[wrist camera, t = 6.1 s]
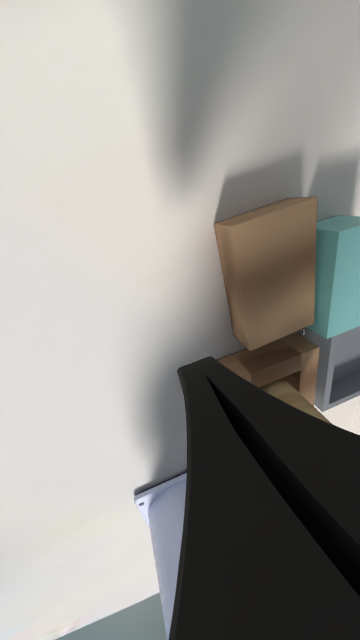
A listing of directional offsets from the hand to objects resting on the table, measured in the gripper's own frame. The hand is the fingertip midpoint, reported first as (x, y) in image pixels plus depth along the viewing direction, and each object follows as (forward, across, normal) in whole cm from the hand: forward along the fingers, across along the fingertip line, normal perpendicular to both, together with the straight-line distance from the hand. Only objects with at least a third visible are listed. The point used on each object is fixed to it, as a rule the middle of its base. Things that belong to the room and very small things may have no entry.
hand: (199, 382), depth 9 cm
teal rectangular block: (+7, -12, +1) cm, 13 cm away
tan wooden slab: (+7, -7, 0) cm, 10 cm away
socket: (+7, -6, +9) cm, 13 cm away
